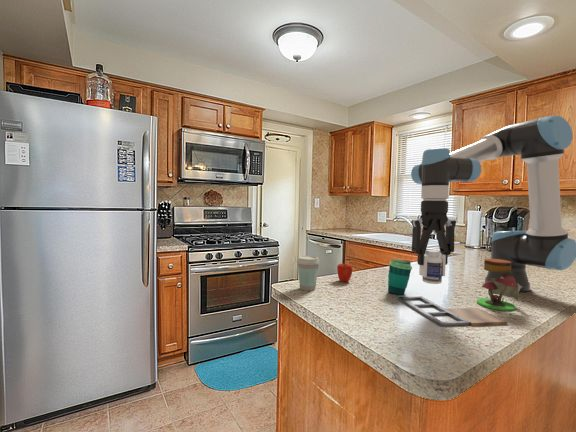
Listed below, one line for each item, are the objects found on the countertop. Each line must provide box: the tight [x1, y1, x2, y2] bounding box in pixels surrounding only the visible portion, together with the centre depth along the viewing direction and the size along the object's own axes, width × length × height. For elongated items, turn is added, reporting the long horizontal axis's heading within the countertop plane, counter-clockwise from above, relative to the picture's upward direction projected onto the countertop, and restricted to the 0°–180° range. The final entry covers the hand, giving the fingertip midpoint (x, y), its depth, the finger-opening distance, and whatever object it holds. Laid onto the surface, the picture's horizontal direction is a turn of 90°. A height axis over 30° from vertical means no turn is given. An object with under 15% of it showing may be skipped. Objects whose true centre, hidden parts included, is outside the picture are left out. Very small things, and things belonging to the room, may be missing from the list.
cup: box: [387, 258, 413, 296], centre depth 112 cm, size 8×8×12 cm
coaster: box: [445, 307, 508, 327], centre depth 89 cm, size 11×11×1 cm
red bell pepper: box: [336, 263, 353, 283], centre depth 127 cm, size 6×6×8 cm
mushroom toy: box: [476, 258, 522, 312], centre depth 99 cm, size 12×13×15 cm
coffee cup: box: [296, 255, 320, 292], centre depth 115 cm, size 9×8×12 cm
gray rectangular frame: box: [397, 295, 471, 327], centre depth 93 cm, size 9×23×1 cm, turn 8°
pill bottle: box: [421, 249, 443, 285], centre depth 93 cm, size 5×5×10 cm
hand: (432, 275), depth 93 cm, fingers closed on pill bottle, 5 cm apart
